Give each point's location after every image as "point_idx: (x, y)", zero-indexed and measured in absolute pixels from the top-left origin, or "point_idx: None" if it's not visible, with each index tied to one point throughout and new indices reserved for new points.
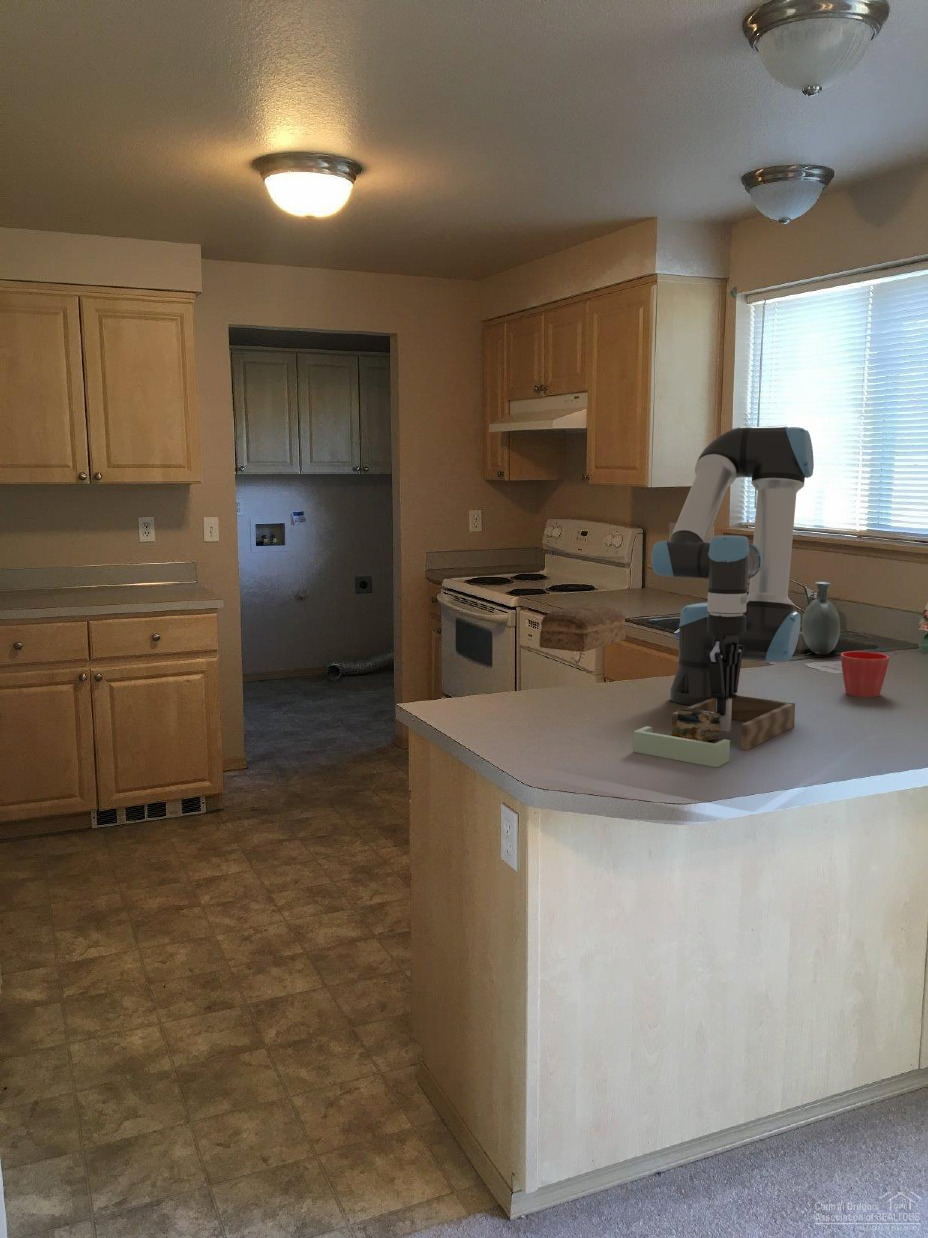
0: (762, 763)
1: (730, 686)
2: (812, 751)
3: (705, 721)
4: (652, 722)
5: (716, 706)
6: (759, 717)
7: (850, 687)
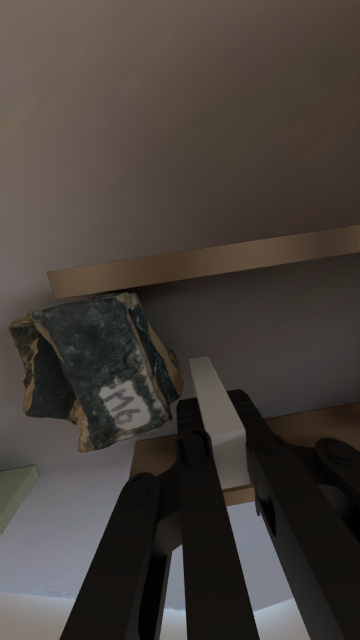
0: (84, 510)
1: (285, 575)
2: (228, 513)
3: (80, 416)
4: (210, 88)
5: (200, 406)
6: (239, 495)
7: None
